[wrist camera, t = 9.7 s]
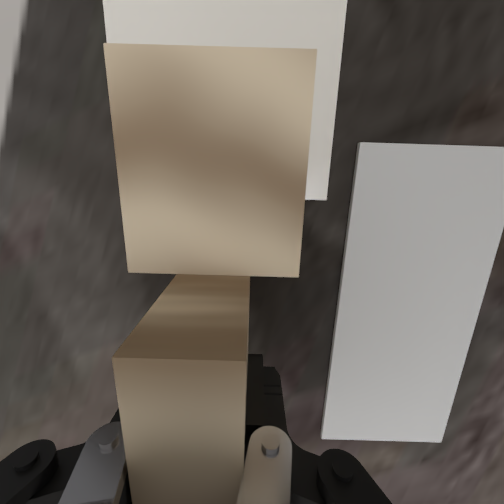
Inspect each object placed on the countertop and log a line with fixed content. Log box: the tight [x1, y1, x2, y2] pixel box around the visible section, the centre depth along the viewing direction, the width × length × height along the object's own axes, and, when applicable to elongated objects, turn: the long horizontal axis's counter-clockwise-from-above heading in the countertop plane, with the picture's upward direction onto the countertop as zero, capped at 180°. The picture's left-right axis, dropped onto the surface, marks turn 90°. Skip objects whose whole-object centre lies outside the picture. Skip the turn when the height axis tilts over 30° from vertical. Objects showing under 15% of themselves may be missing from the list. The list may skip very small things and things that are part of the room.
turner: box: [103, 43, 317, 504], centre depth 9 cm, size 20×7×6 cm, turn 178°
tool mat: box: [320, 142, 504, 442], centre depth 19 cm, size 10×23×1 cm, turn 178°
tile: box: [103, 0, 347, 200], centre depth 15 cm, size 12×2×10 cm
